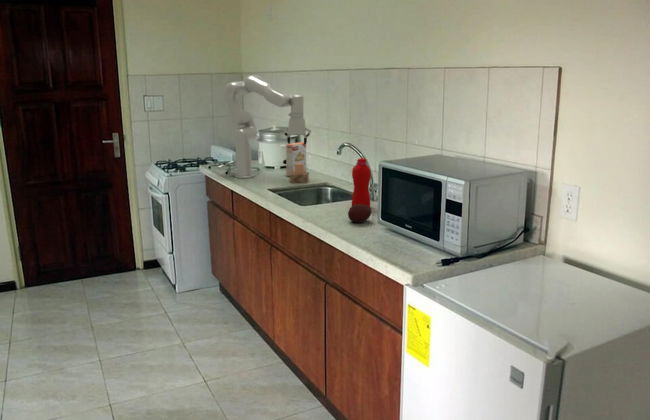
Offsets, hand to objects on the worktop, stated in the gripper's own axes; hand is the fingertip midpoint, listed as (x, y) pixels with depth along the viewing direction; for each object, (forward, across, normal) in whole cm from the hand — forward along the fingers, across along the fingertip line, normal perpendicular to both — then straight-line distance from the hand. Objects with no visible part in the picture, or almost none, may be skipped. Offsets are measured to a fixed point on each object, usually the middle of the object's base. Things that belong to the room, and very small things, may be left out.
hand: (297, 144), depth 324 cm
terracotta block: (+18, +2, -1) cm, 18 cm away
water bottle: (+22, +41, -62) cm, 78 cm away
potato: (+22, +42, -87) cm, 100 cm away
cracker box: (+24, -3, +19) cm, 31 cm away
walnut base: (+23, +2, -1) cm, 23 cm away
